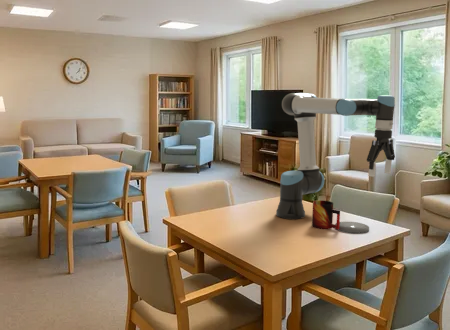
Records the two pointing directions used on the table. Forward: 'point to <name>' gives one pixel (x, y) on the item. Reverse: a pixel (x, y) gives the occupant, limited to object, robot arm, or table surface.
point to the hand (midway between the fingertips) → (379, 174)
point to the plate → (353, 227)
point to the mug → (324, 215)
